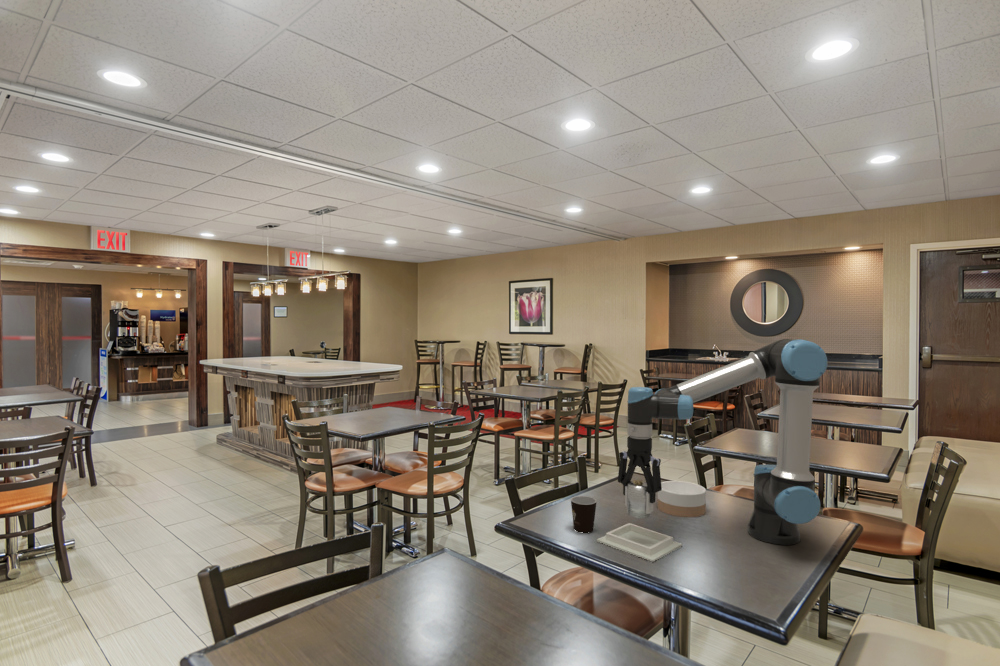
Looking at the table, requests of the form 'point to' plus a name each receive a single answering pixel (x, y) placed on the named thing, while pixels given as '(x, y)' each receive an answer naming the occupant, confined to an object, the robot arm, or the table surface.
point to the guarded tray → (640, 541)
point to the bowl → (682, 499)
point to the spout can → (637, 499)
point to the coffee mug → (583, 513)
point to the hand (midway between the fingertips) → (638, 509)
